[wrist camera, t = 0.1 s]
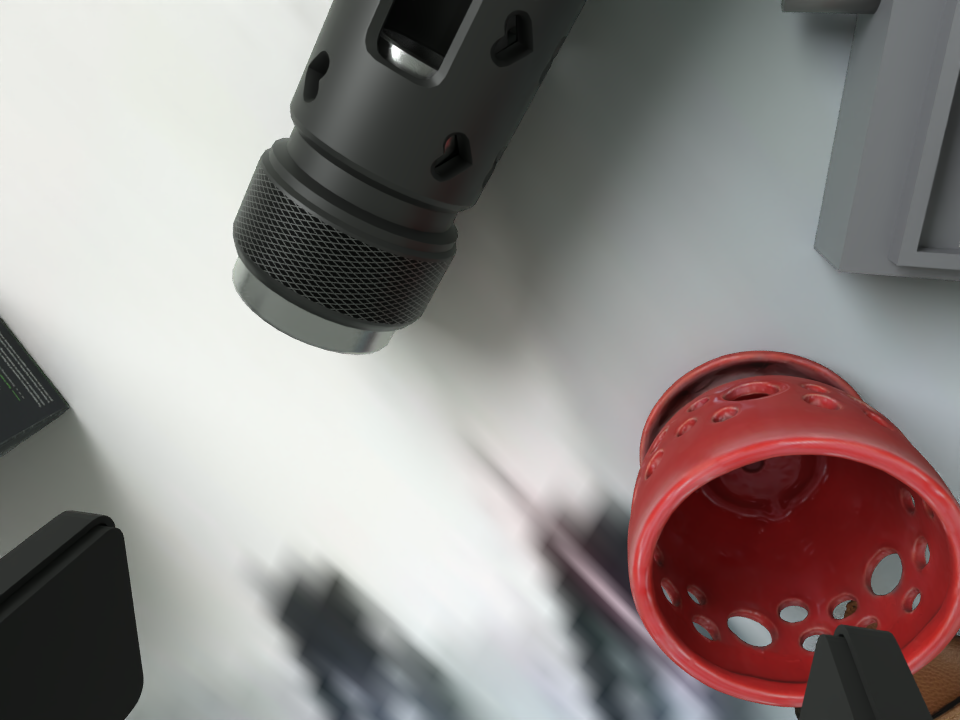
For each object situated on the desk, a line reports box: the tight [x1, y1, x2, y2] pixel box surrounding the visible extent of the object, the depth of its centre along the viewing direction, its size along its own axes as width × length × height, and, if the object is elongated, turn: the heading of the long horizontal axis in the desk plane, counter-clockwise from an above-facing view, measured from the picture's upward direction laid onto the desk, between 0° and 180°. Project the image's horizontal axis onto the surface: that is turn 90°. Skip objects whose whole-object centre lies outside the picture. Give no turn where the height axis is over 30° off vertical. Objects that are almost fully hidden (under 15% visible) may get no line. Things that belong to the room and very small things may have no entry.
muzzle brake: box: [233, 0, 586, 355], centre depth 32 cm, size 10×28×10 cm, turn 151°
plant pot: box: [628, 351, 960, 707], centre depth 36 cm, size 13×13×12 cm
